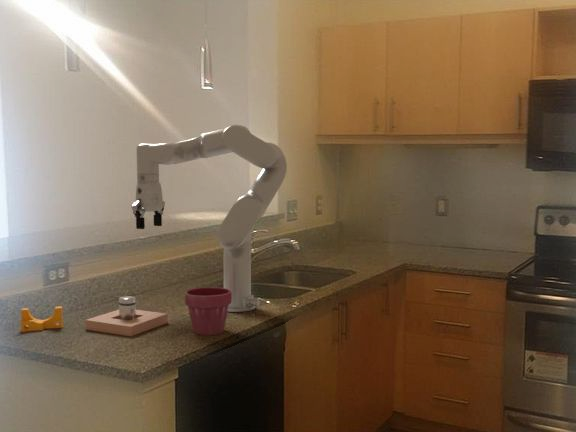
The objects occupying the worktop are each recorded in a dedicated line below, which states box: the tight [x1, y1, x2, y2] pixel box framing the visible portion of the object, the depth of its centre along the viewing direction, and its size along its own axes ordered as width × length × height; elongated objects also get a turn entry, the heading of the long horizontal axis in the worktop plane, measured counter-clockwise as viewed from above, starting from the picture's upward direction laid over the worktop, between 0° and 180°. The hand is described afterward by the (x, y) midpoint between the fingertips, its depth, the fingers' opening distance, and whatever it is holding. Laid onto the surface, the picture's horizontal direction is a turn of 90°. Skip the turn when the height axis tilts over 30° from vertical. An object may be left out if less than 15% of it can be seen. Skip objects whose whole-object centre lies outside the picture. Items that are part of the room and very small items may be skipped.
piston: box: [118, 295, 137, 321], centre depth 223 cm, size 5×5×9 cm
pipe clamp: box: [20, 305, 64, 333], centre depth 220 cm, size 12×4×6 cm, turn 103°
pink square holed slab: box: [84, 309, 168, 337], centre depth 223 cm, size 18×18×3 cm
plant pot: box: [184, 286, 232, 336], centre depth 216 cm, size 14×14×13 cm
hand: (149, 227), depth 248 cm, fingers open, 9 cm apart
